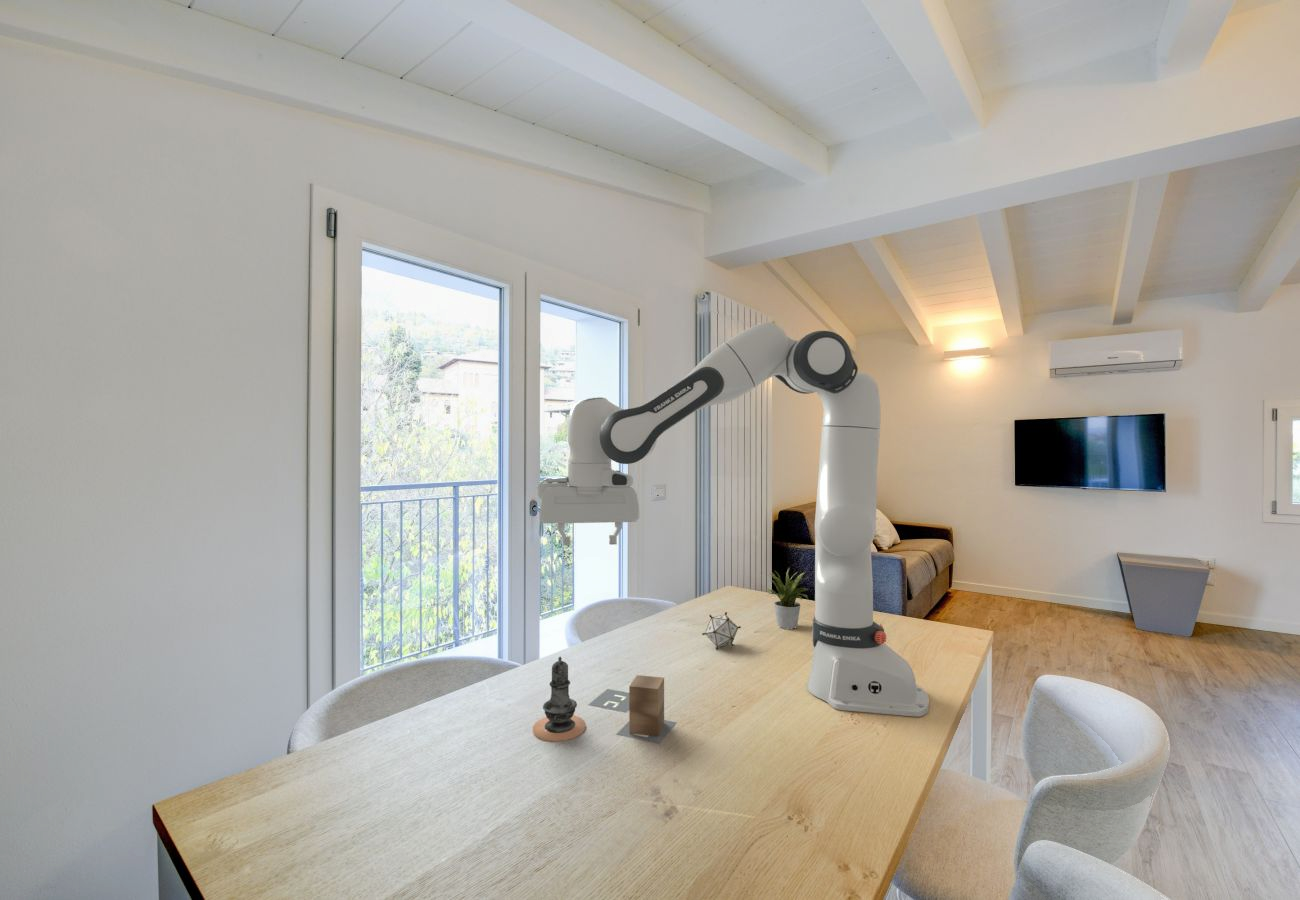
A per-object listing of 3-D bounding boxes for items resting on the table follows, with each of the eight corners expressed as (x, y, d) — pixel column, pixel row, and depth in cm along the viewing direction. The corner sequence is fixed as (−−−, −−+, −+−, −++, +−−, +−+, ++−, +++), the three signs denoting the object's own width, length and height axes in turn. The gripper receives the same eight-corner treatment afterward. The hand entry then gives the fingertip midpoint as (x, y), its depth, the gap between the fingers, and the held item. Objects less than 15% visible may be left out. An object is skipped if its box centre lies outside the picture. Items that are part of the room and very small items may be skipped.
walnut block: (664, 722, 101) (664, 677, 101) (658, 736, 97) (658, 688, 97) (636, 719, 103) (636, 675, 103) (629, 733, 98) (629, 686, 98)
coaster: (594, 722, 102) (594, 719, 102) (568, 746, 94) (568, 743, 94) (551, 713, 105) (551, 710, 105) (522, 736, 97) (522, 732, 97)
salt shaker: (583, 722, 101) (583, 653, 101) (564, 736, 96) (564, 664, 96) (555, 715, 104) (555, 648, 104) (535, 729, 98) (535, 659, 98)
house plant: (756, 633, 152) (756, 571, 152) (756, 618, 166) (755, 561, 166) (812, 636, 150) (812, 573, 150) (807, 620, 163) (806, 563, 163)
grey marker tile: (643, 696, 113) (643, 695, 113) (625, 713, 106) (625, 712, 106) (607, 689, 116) (607, 688, 116) (587, 705, 109) (587, 704, 109)
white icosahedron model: (728, 663, 141) (744, 638, 135) (696, 651, 141) (710, 625, 135) (731, 635, 148) (746, 610, 143) (700, 623, 148) (714, 598, 143)
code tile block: (676, 723, 102) (676, 722, 102) (659, 744, 94) (659, 743, 94) (635, 715, 105) (635, 714, 105) (616, 735, 97) (616, 734, 97)
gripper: (537, 478, 113) (537, 548, 113) (640, 477, 116) (640, 546, 116) (539, 476, 120) (539, 543, 120) (637, 476, 122) (637, 541, 122)
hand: (589, 544), depth 118 cm, fingers open, 8 cm apart
